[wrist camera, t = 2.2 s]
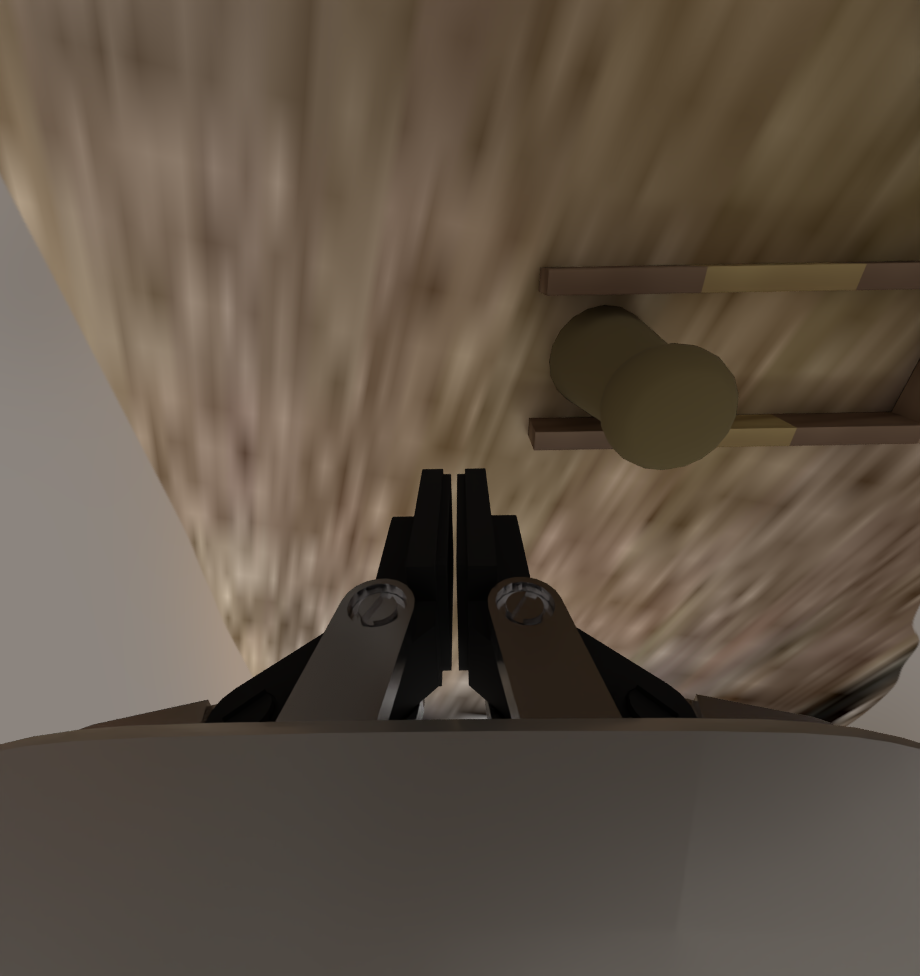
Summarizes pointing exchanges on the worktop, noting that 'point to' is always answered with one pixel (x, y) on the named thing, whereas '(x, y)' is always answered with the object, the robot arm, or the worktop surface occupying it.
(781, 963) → the robot arm
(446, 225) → the worktop surface
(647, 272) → the slot track
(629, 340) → the olive brown waisted cylinder
